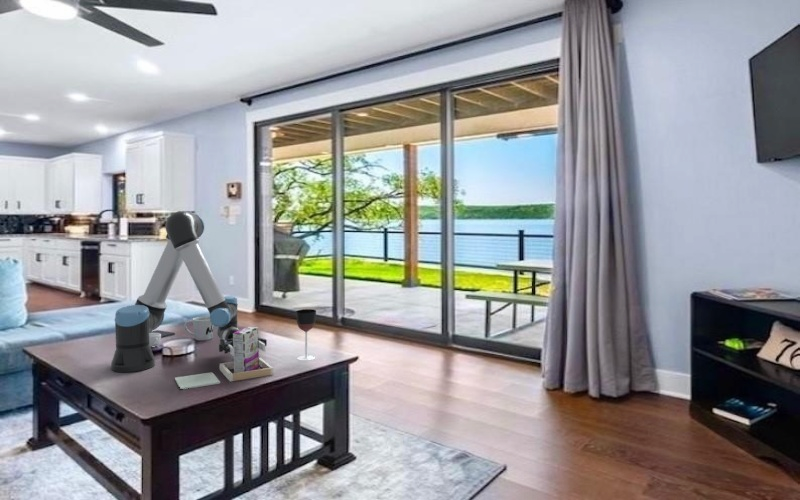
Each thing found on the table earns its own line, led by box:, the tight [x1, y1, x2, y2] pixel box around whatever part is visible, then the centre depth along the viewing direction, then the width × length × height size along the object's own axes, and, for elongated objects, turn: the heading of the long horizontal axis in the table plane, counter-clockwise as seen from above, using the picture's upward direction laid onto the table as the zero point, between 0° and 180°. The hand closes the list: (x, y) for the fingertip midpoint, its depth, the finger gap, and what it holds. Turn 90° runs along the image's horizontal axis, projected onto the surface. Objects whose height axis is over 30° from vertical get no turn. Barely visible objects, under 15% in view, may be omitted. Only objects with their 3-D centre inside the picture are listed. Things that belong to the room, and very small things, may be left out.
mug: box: [183, 315, 215, 341], centre depth 243 cm, size 10×15×10 cm
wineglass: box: [295, 308, 317, 361], centre depth 210 cm, size 8×9×20 cm
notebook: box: [149, 329, 176, 339], centre depth 243 cm, size 13×2×21 cm
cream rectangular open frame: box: [219, 357, 275, 382], centre depth 191 cm, size 16×16×2 cm
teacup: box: [149, 333, 162, 348], centre depth 227 cm, size 10×8×5 cm
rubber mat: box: [174, 371, 221, 390], centre depth 179 cm, size 13×13×1 cm
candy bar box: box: [232, 326, 260, 373], centre depth 190 cm, size 11×5×16 cm, turn 168°
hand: (249, 350), depth 187 cm, fingers closed on candy bar box, 11 cm apart
